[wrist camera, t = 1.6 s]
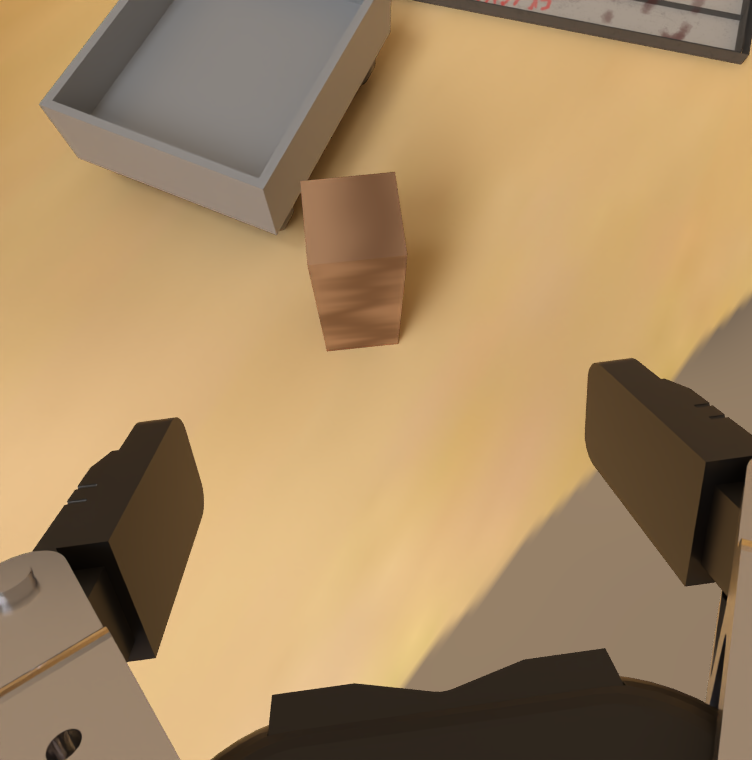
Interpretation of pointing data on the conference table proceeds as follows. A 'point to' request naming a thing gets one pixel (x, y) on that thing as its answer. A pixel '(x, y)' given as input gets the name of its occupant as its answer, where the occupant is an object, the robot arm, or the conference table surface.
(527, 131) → the conference table surface
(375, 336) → the walnut block
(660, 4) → the shutter
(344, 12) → the shallow gray tray
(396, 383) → the conference table surface
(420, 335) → the conference table surface
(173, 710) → the conference table surface
